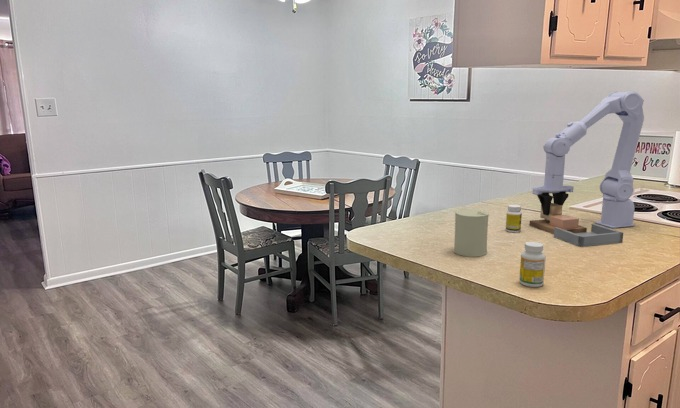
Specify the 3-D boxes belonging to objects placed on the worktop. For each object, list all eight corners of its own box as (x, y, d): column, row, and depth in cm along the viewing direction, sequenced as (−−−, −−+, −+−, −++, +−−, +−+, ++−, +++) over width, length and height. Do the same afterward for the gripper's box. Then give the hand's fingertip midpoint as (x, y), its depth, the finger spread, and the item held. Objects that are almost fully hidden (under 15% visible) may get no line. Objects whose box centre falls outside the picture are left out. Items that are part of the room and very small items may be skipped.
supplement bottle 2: (539, 289, 112) (541, 248, 110) (515, 284, 115) (518, 244, 113) (546, 282, 116) (549, 243, 114) (524, 277, 119) (526, 239, 117)
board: (556, 222, 171) (556, 218, 171) (586, 232, 158) (586, 227, 158) (529, 225, 168) (529, 220, 168) (557, 235, 155) (557, 230, 155)
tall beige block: (549, 216, 169) (550, 202, 168) (561, 220, 163) (562, 205, 162) (540, 217, 168) (541, 203, 167) (552, 221, 162) (553, 206, 161)
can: (481, 259, 134) (483, 216, 131) (448, 253, 138) (450, 212, 136) (490, 250, 141) (493, 209, 139) (459, 245, 146) (461, 206, 144)
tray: (593, 232, 158) (594, 223, 157) (622, 242, 147) (623, 232, 146) (553, 236, 154) (554, 227, 153) (580, 247, 143) (581, 237, 142)
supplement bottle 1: (521, 233, 159) (523, 207, 157) (506, 232, 160) (507, 207, 158) (519, 229, 163) (521, 204, 162) (504, 228, 164) (506, 204, 163)
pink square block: (565, 223, 163) (565, 214, 163) (578, 227, 158) (578, 218, 157) (549, 224, 162) (550, 216, 161) (562, 229, 156) (563, 220, 156)
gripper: (564, 171, 168) (561, 210, 171) (527, 173, 164) (525, 213, 167) (579, 174, 161) (575, 214, 164) (541, 176, 158) (538, 218, 161)
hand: (551, 214), depth 165 cm, fingers closed on tall beige block, 4 cm apart
